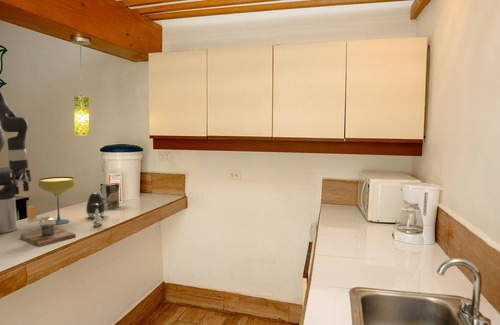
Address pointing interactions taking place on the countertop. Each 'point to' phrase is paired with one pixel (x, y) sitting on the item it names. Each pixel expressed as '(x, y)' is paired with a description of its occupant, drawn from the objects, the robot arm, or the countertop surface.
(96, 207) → the valve
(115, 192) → the coffee box
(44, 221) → the coupling
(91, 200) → the black egg-shaped body
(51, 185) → the cocktail glass
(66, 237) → the base board
